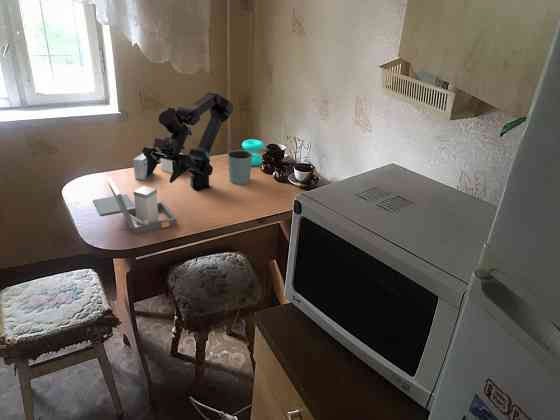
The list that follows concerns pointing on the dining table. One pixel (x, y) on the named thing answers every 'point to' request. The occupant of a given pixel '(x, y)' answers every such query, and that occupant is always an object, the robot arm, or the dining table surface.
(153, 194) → the block
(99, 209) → the slate mat
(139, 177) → the medicine box
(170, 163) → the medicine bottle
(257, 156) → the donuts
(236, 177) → the grey teal cup
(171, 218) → the equipment case
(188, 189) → the dining table surface
